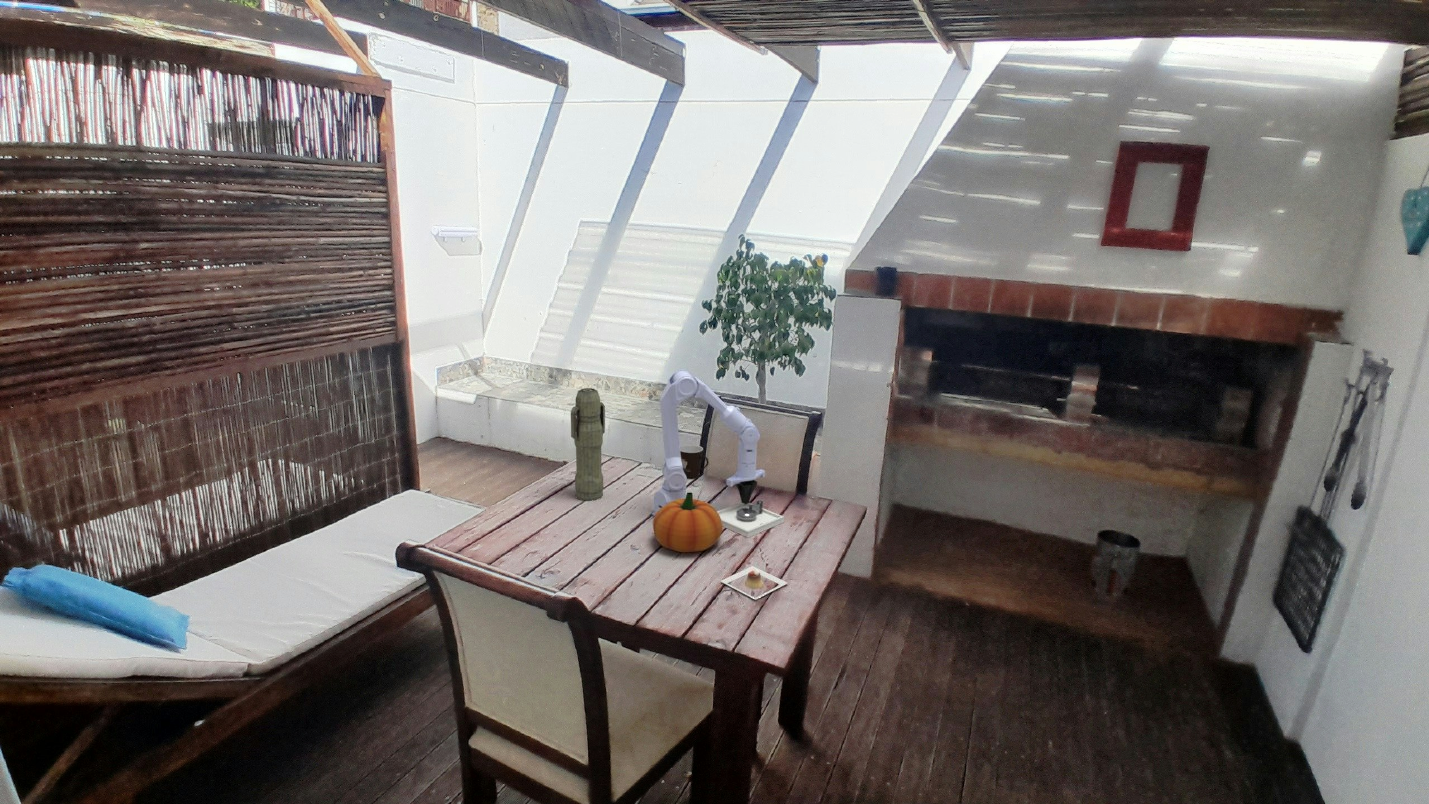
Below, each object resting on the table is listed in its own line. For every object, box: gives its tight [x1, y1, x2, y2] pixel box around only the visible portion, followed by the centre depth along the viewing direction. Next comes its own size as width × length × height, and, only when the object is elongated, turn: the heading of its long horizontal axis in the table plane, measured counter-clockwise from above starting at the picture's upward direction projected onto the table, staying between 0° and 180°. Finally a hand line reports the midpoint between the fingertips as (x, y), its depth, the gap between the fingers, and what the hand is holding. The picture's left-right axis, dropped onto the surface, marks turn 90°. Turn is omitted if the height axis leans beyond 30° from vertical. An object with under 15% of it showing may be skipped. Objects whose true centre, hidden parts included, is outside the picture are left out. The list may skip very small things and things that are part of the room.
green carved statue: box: [570, 387, 606, 502], centre depth 226 cm, size 9×12×35 cm
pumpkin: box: [652, 492, 724, 553], centre depth 198 cm, size 19×19×15 cm
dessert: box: [719, 565, 789, 601], centre depth 177 cm, size 12×12×5 cm
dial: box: [736, 500, 764, 521], centre depth 215 cm, size 10×6×3 cm, turn 135°
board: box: [716, 502, 785, 538], centre depth 215 cm, size 16×16×2 cm
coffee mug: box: [680, 444, 709, 480], centre depth 248 cm, size 12×9×10 cm
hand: (745, 502), depth 222 cm, fingers closed
